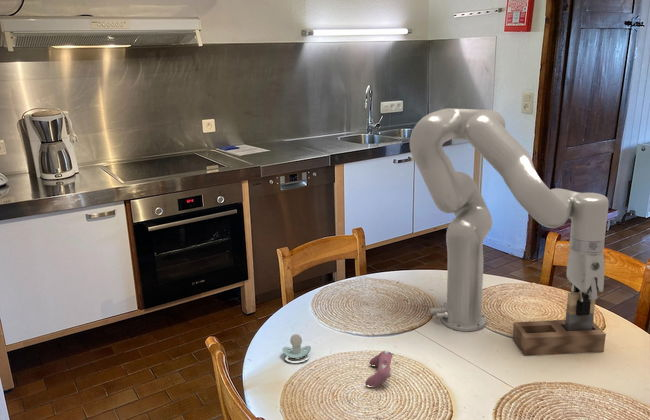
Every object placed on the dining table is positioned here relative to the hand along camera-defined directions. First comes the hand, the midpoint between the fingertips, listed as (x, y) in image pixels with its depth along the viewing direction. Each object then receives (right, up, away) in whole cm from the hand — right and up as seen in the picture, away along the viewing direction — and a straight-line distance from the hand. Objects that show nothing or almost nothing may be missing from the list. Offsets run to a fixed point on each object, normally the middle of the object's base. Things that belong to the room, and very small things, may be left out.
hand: (579, 311), depth 132 cm
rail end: (0, -5, +1) cm, 5 cm away
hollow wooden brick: (-5, -9, +3) cm, 11 cm away
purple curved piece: (-51, -14, -7) cm, 54 cm away
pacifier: (-72, -13, +3) cm, 73 cm away
